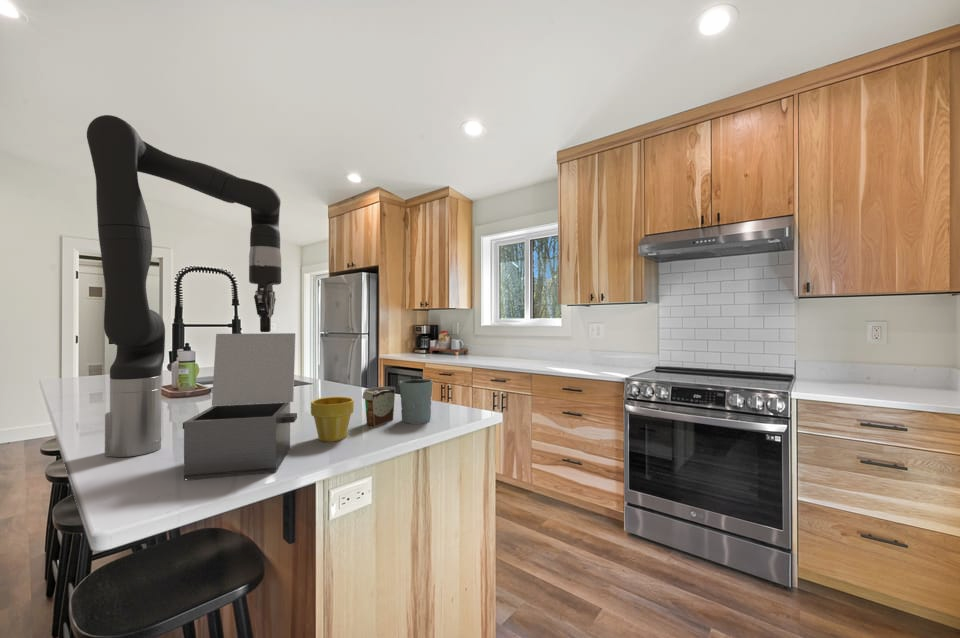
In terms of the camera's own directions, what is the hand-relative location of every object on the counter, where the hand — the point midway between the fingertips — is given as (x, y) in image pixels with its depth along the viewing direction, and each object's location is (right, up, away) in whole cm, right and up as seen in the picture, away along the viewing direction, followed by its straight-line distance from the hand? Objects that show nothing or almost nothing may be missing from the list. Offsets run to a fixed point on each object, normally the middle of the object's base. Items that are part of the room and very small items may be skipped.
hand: (265, 331), depth 110 cm
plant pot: (+18, -28, -1) cm, 33 cm away
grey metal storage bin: (+5, -27, -20) cm, 34 cm away
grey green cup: (+37, -28, +18) cm, 49 cm away
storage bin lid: (+3, -8, -11) cm, 14 cm away
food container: (+25, -28, +15) cm, 40 cm away
